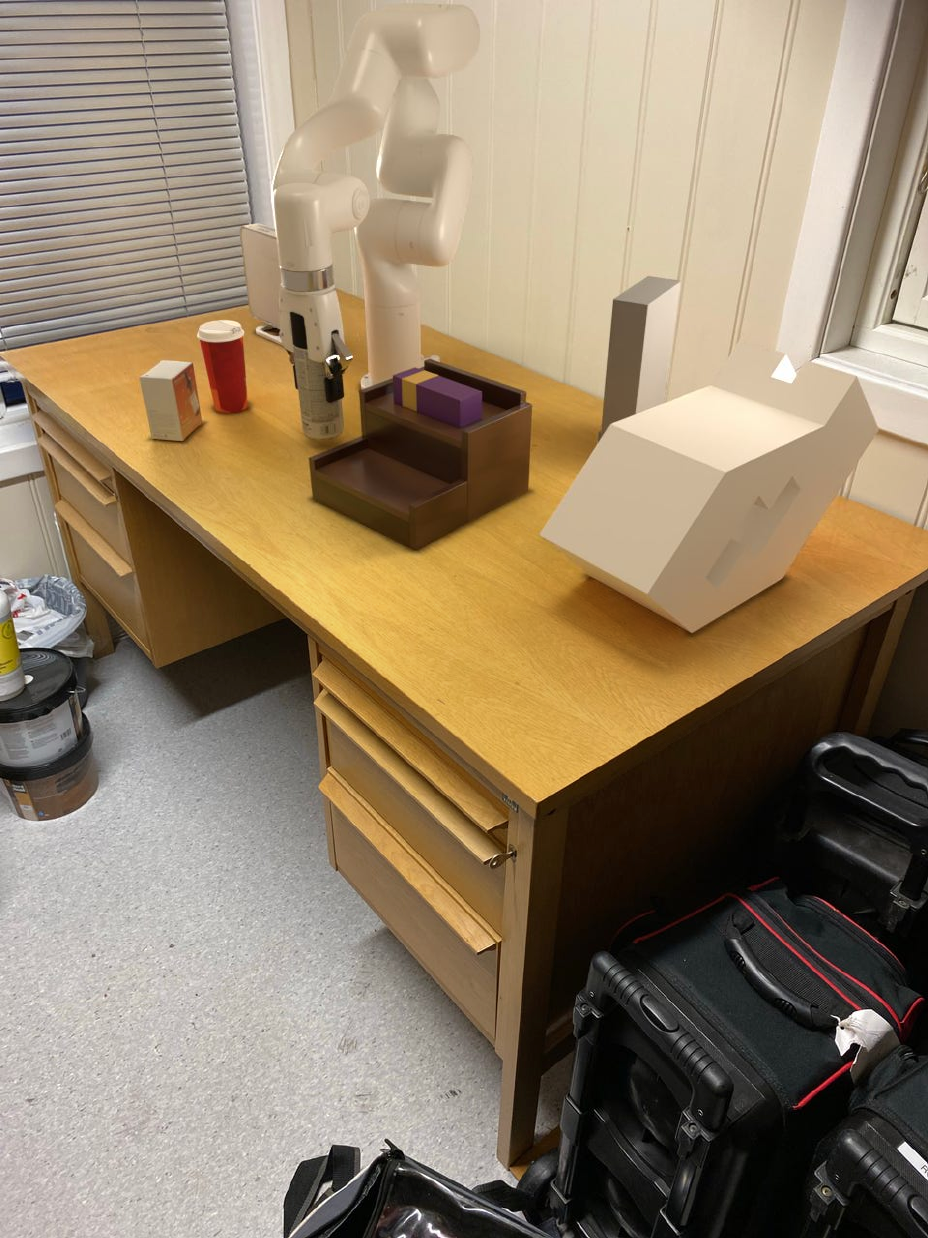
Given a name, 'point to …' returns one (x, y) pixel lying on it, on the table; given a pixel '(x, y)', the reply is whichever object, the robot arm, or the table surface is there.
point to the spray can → (314, 389)
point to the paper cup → (225, 364)
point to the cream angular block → (715, 485)
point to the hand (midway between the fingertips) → (319, 392)
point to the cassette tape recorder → (639, 348)
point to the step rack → (427, 462)
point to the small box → (171, 400)
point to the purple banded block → (437, 397)
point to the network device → (262, 275)
